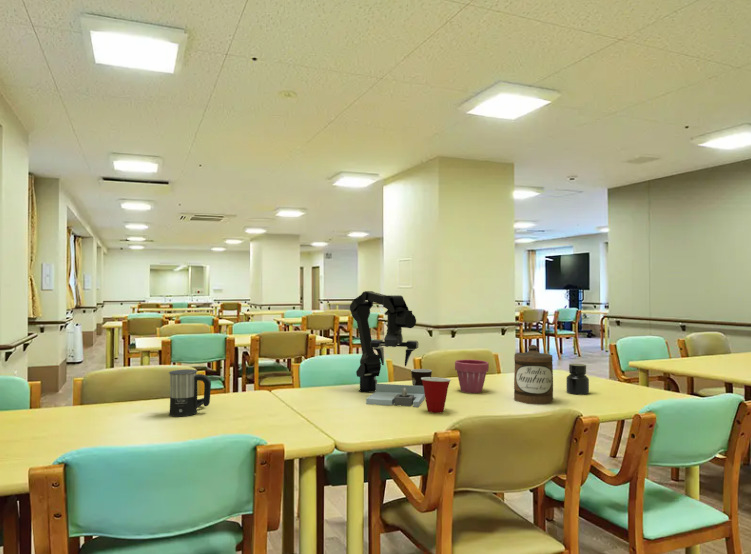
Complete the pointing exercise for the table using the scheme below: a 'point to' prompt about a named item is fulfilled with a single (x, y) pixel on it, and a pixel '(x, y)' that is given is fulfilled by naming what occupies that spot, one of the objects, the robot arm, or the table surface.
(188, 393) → the milk frother
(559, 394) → the table surface
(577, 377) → the ink bottle
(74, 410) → the table surface
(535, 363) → the wooden container
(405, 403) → the square hollow frame
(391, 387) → the grey walled base plate
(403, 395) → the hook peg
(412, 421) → the table surface
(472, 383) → the plant pot
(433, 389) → the plastic cup
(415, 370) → the coffee mug
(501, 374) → the table surface
